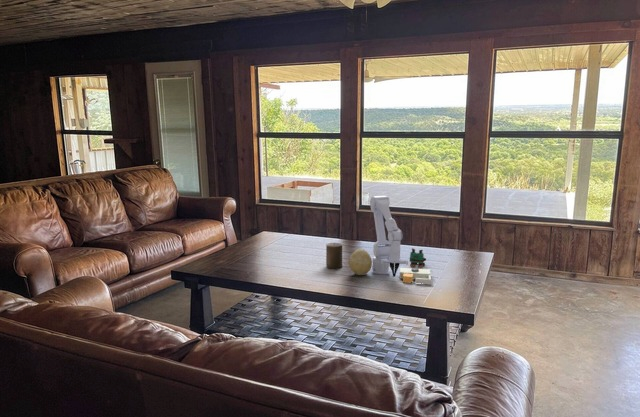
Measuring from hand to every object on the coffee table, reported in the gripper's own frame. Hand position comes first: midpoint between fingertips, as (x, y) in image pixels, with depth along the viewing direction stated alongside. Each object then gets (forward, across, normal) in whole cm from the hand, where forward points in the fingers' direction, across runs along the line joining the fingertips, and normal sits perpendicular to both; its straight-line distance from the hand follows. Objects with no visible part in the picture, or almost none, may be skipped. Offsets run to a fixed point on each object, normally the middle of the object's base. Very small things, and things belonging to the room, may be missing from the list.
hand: (394, 276), depth 252 cm
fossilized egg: (+2, -19, +6) cm, 20 cm away
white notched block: (+2, +11, +4) cm, 12 cm away
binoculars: (+2, +13, +30) cm, 32 cm away
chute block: (+2, +8, 0) cm, 8 cm away
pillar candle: (+2, -36, +18) cm, 40 cm away
